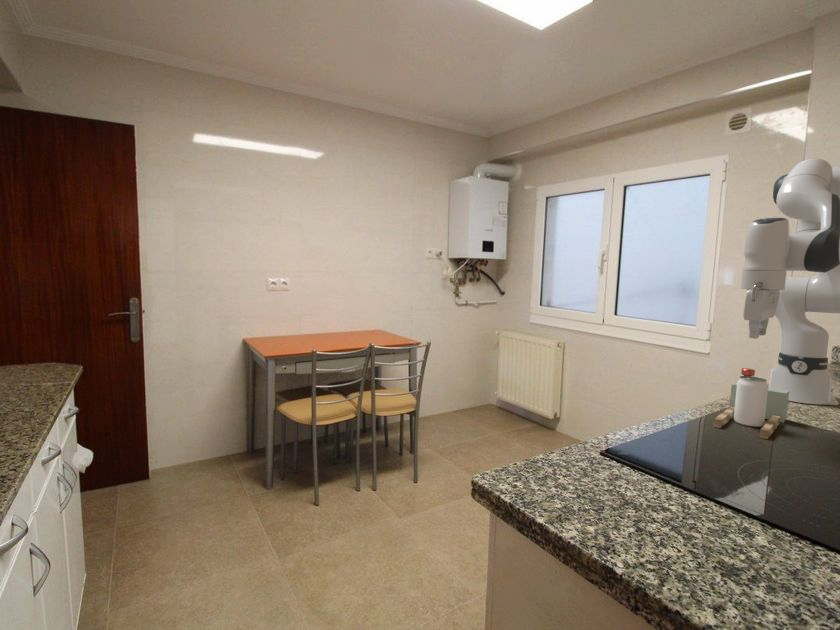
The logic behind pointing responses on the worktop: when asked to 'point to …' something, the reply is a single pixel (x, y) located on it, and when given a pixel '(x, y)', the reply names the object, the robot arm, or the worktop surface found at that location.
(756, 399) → the can
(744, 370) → the plunger
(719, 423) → the rails
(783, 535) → the worktop surface
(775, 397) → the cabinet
